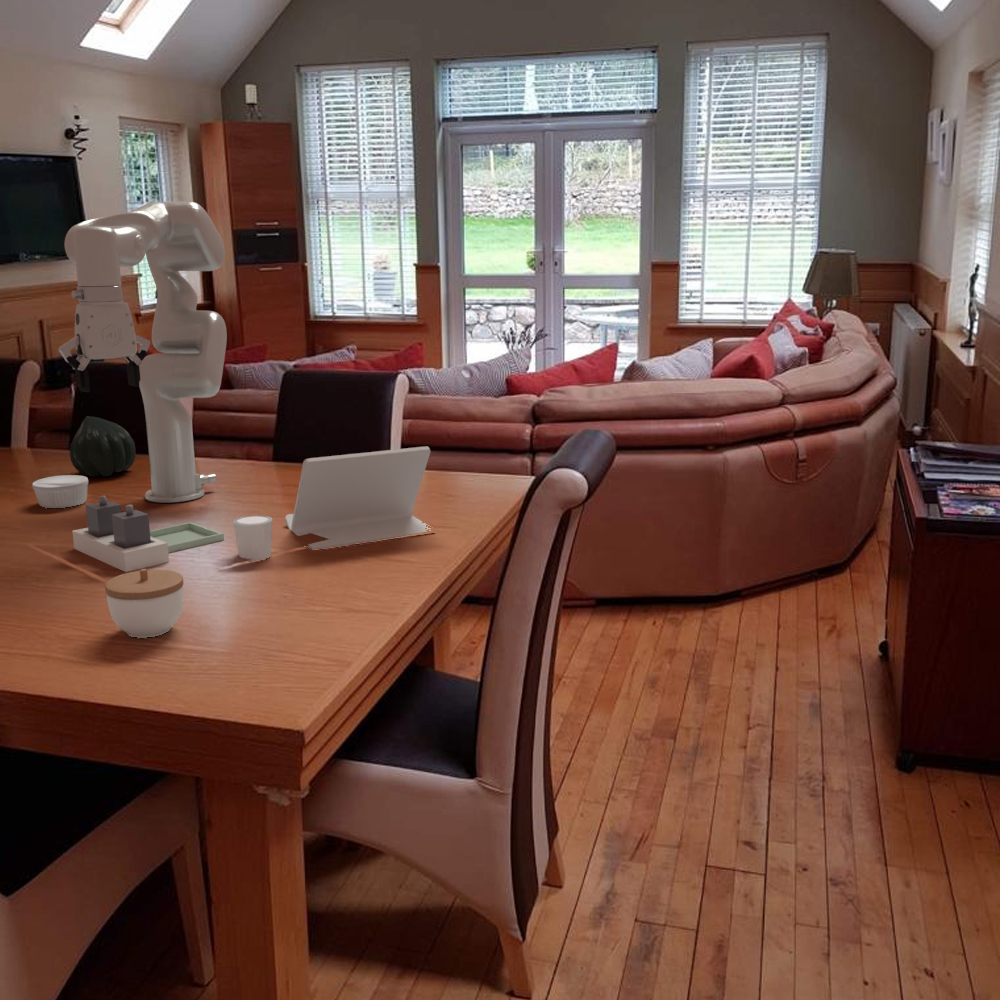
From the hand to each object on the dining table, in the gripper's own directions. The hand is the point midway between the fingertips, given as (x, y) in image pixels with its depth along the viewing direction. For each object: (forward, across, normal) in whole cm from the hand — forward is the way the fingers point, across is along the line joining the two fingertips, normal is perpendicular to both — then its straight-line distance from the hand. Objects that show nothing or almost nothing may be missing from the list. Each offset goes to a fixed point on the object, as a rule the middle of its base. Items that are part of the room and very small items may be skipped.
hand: (109, 388), depth 196 cm
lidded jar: (+28, -22, -52) cm, 63 cm away
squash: (+29, +22, +54) cm, 65 cm away
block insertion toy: (+28, -8, -15) cm, 33 cm away
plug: (+27, -8, -20) cm, 35 cm away
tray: (+28, +4, -14) cm, 32 cm away
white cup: (+28, +9, -32) cm, 44 cm away
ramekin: (+29, +2, +32) cm, 43 cm away
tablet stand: (+29, +33, -32) cm, 54 cm away
